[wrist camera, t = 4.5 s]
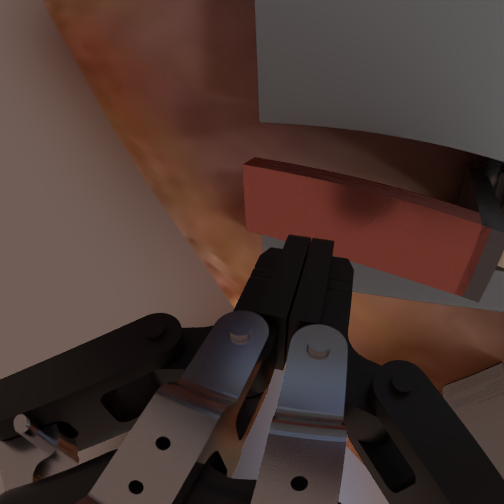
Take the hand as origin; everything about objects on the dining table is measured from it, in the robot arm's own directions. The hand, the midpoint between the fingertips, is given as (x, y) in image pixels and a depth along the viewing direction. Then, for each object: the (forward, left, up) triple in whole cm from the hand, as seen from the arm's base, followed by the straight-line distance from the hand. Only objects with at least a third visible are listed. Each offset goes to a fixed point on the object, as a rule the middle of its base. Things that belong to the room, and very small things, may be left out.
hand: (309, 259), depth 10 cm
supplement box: (-20, +21, -9) cm, 30 cm away
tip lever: (-9, 0, -8) cm, 13 cm away
